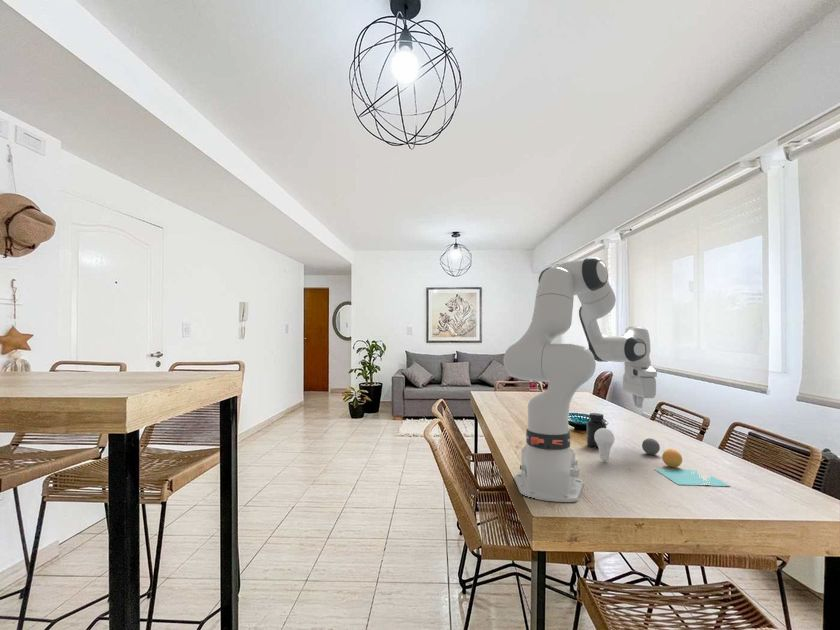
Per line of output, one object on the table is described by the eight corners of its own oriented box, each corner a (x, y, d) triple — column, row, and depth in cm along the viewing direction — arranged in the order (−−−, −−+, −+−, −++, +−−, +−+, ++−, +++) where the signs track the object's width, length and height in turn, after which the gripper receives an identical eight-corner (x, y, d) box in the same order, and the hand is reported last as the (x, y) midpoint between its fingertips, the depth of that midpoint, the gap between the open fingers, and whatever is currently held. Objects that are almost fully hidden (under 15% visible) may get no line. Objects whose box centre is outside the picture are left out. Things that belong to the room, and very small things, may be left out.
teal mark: (730, 486, 117) (730, 486, 117) (678, 485, 118) (678, 484, 118) (701, 470, 131) (701, 470, 131) (654, 469, 132) (654, 468, 132)
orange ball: (684, 470, 131) (684, 452, 131) (665, 468, 132) (664, 451, 133) (679, 465, 136) (679, 448, 136) (660, 463, 138) (659, 446, 138)
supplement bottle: (585, 443, 163) (584, 412, 163) (603, 444, 162) (603, 412, 162) (589, 448, 156) (589, 415, 157) (609, 449, 155) (608, 416, 156)
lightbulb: (609, 466, 134) (609, 431, 135) (591, 461, 139) (590, 428, 140) (618, 462, 138) (617, 428, 139) (599, 458, 143) (599, 425, 144)
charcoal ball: (661, 457, 145) (661, 441, 145) (644, 455, 146) (643, 439, 147) (657, 453, 150) (657, 437, 151) (640, 451, 152) (640, 436, 152)
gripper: (618, 367, 170) (618, 402, 169) (640, 372, 150) (641, 411, 149) (634, 368, 169) (634, 402, 169) (659, 372, 149) (660, 412, 148)
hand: (638, 407), depth 159 cm, fingers closed
